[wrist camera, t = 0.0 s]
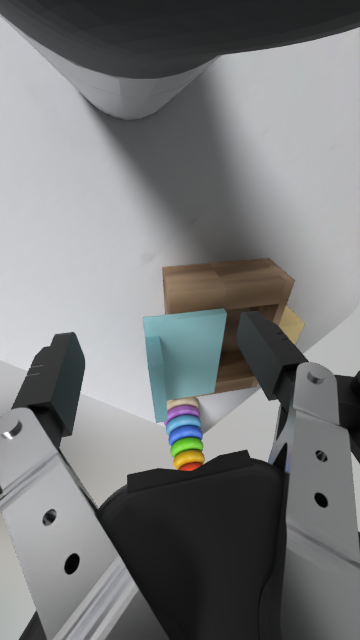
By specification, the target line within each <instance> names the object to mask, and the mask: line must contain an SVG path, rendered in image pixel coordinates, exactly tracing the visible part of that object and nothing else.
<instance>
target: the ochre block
mask: <svg viewBox="0 0 360 640" xmlns="http://www.w3.org/2000/svg"><path fill="white" fill-rule="evenodd" d="M304 325H305V324H304V323H303V322H302V321H301V319H300V318H299V317H298V316H297V315H296V314H295V313H294V312H293V311H292V310H291V309H290V308H289V307H288V306H287V305H286V307H285V309H284V312H283V315H282V318H281V320H280V323H279V327H280V328H281V330H282V331H283V332H284V334H286V335H287V337H288V338H289V340H291V341H292V342H293V344H296V342H297V340H298V338H299V336H300V333H301V331H302V329H303V327H304Z"/></svg>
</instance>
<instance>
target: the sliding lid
mask: <svg viewBox="0 0 360 640" xmlns="http://www.w3.org/2000/svg"><path fill="white" fill-rule="evenodd" d="M226 317H227V313H226V311H225V309H224V308H222V309H213V310H204V311H195V312H187V313H178V314H169V315H161V316H152V317H143V325H144V332H145V340H146V351H147V361H148V370H149V377H150V384H151V391H152V398H153V405H154V412H155V418H156V423H158V422H163V421H168V415H167V401H168V400H173V399H179V398H185V397H191V396H197V395H203V394H209V393H214V390H215V384H216V378H217V372H218V366H219V360H220V353H221V347H222V341H223V335H224V329H225V323H226Z"/></svg>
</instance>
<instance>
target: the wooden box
mask: <svg viewBox="0 0 360 640" xmlns="http://www.w3.org/2000/svg"><path fill="white" fill-rule="evenodd" d="M162 269H163V286H164V304H165V315H169V314H178V313H187V312H195V311H204V310H213V309H222V308H224V309H225V311H226V313H227V317H226V323H225V329H224V335H223V341H222V347H221V353H220V360H219V366H218V372H217V378H216V384H215V390H214V393H209V394H203V395H197V396H191V397H185V398H179V399H173V400H174V401H175V400H181V399H187V398H192V397H198V396H204V395H210V394H216V393H222V392H228V391H234V390H240V389H246V388H251V387H257V384H258V381H257V379H256V377H255V375H254V374H253V372H252V370H251V368H250V366H249V365H248V363H247V361H246V359H245V358H244V356H243V354H242V352H241V350H240V349H239V347H238V344H237V331H238V326H239V321H240V316H241V313H242V312H249V311H259V312H260V314H261V315H262V316H263V317H264V319H265V320H266V319H269V320H270V321H272V322H274V323H275V324H277V325H278V326H279V323H280V320H281V318H282V315H283V312H284V309H285V307H286V304H287V301H288V298H289V296H290V293H291V290H292V287H293V285H294V282H295V280H294V279H293V278H292V277H290V276H289V275H288V274H287V273H286V272H285V271H283V270H282V269H281V268H280V267H279V266H277V265H276V264H275V263H274V262H273V261H272V260H270V259H269V258H264V259H252V260H240V261H229V262H217V263H205V264H193V265H182V266H170V267H162Z"/></svg>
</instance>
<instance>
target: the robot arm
mask: <svg viewBox="0 0 360 640" xmlns="http://www.w3.org/2000/svg"><path fill="white" fill-rule="evenodd" d="M0 16H1V17H2V18H3V19H4V20H5V21H6V22H7V23H8V24H9V25H10V26H11V27H12V28H13V29H14V30H16V31H17V32H18V33H19V34H20V35H21V36H22V37H23V38H24V39H25V40H26V41H27V42H29V43H30V44H31V45H32V46H33V47H34V48H35V49H36V50H37V51H38V52H39V53H40V54H41V55H42V56H43V57H44V58H45V59H46V60H47V61H48V62H49V63H50V64H51V65H52V66H53V67H54V68H55V69H56V70H58V71H59V72H60V73H61V74H62V75H63V76H64V77H65V78H66V79H67V80H68V81H69V82H70V83H71V84H72V85H73V86H74V87H75V88H76V89H77V90H78V91H79V92H80V93H81V94H82V95H83V96H85V97H86V98H87V99H88V100H89V101H90V102H91V103H92V104H93V105H94V106H96V107H97V108H98V109H100V110H101V111H102V112H104V113H106V114H108V115H110V116H113V117H115V118H118V119H125V120H136V119H142V118H145V117H147V116H150V115H152V114H153V113H155V112H157V111H158V109H159V108H161V107H162V106H163V105H165V104H166V103H167V102H168V101H169V100H170V99H172V98H173V97H174V96H175V95H176V94H178V93H179V92H180V91H181V90H182V89H183V88H185V87H186V86H187V85H188V84H189V83H190V82H192V81H193V80H194V79H195V78H196V77H197V76H199V75H200V74H201V73H202V72H203V71H204V70H205V69H206V68H207V67H209V66H210V65H211V64H212V63H213V62H214V61H216V60H217V59H218V58H219V57H220V56H221V55H224V54H232V53H240V52H248V51H256V50H263V49H269V48H275V47H282V46H287V45H292V44H297V43H302V42H307V41H312V40H316V39H320V38H323V37H327V36H331V35H335V34H339V33H343V32H346V31H349V30H352V29H355V28H358V27H360V0H0ZM237 344H238V347H239V349H240V350H241V352H242V354H243V356H244V358H245V359H246V361H247V363H248V365H249V366H250V368H251V370H252V372H253V374H254V375H255V377H256V379H257V381H258V382H259V384H260V386H261V388H262V390H263V391H264V393H265V395H266V397H267V398H268V400H269V401H270V400H276V399H278V400H279V402H280V403H281V404H280V407H279V412H278V418H277V424H276V430H275V436H274V442H273V446H272V450H271V453H270V456H269V460H268V463H267V462H265V461H262V460H258V459H254V458H250V456H249V453H248V451H247V450H243V451H238V452H233V453H229V454H224V455H219V456H217V457H216V458H214V459H212V460H210V461H209V462H207V463H205V464H203V465H201V466H200V467H198V468H196V469H194V470H191V471H185V470H172V469H161V468H157V469H152V470H148V471H143V472H138V473H134V474H129V475H127V484H126V485H125V486H123V487H121V488H120V489H118V490H117V491H116V492H114V493H113V494H112V495H111V496H110V497H109V498H108V499H107V500H106V501H105V502H104V503H103V504H102V505H101V506H100V508H98V507H97V505H96V504H95V502H94V501H93V499H92V497H91V496H90V495H89V493H88V492H87V490H86V489H85V487H84V486H83V484H82V483H81V481H80V479H79V478H78V476H77V475H76V473H75V472H74V470H73V468H72V467H71V465H70V464H69V462H68V461H67V459H66V457H65V456H64V454H63V453H62V451H61V449H60V448H59V446H60V442H61V438H62V437H66V436H71V435H72V431H73V426H74V421H75V416H76V411H77V406H78V401H79V396H80V391H81V386H82V381H83V376H84V370H85V358H84V355H83V352H82V349H81V347H80V344H79V342H78V339H77V336H76V334H75V333H74V332H70V333H61V334H55V336H54V338H53V340H52V343H51V345H50V346H48V347H43V349H42V350H41V351H40V352H39V353H38V354H37V355H36V356H35V357H34V360H33V362H32V364H31V368H29V371H28V373H27V376H26V377H25V380H24V382H23V384H22V386H21V389H20V391H19V393H18V395H17V398H16V400H15V402H14V404H13V406H12V408H11V410H10V411H8V412H6V413H4V414H2V415H1V416H0V494H2V493H3V495H4V496H3V497H2V498H1V499H0V509H1V512H2V515H3V518H4V520H5V523H6V526H7V529H8V532H9V534H10V537H11V540H12V543H13V546H14V548H15V551H16V554H17V557H18V560H19V562H20V565H21V568H22V570H23V573H24V576H25V579H26V582H27V584H28V587H29V590H30V593H31V596H32V599H33V601H34V604H35V607H36V612H35V613H34V615H33V617H32V619H31V620H30V622H29V624H28V625H27V627H26V629H25V630H24V632H23V633H22V635H21V637H20V638H19V640H360V532H358V528H357V516H356V505H355V494H354V484H353V474H352V462H351V452H352V453H353V455H354V456H355V458H356V459H357V460H358V462H359V463H360V371H359V372H358V373H357V374H356V376H355V377H350V376H341V375H333V374H332V372H331V371H330V370H328V369H327V368H325V367H324V366H322V365H320V364H317V363H312V362H309V361H308V360H307V359H306V358H305V357H304V355H303V354H302V353H301V352H300V351H299V349H298V348H297V347H296V346H295V345H294V344H293V342H292V341H291V340H289V338H288V337H287V335H286V334H284V332H283V331H282V330H281V328H280V327H279V326H278V325H277V324H275V323H274V322H272V321H270V320H269V319H266V320H265V319H264V317H263V316H262V315H261V314H260V312H259V311H249V312H242V313H241V316H240V321H239V326H238V331H237ZM350 450H351V451H350Z"/></svg>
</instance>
